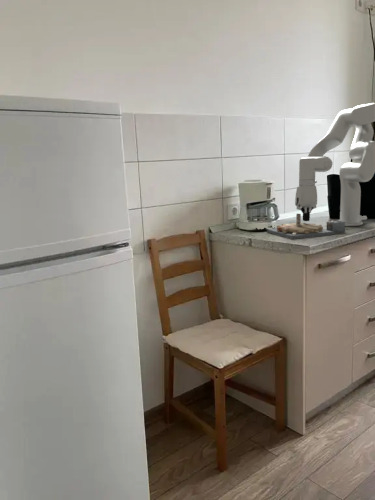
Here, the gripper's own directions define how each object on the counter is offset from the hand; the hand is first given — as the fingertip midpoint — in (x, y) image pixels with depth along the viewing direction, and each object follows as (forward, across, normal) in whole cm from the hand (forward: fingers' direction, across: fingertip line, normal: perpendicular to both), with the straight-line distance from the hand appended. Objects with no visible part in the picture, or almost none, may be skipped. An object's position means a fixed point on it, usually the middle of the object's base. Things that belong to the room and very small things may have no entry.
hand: (306, 220), depth 212 cm
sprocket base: (+5, +8, +6) cm, 11 cm away
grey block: (+5, -8, +12) cm, 15 cm away
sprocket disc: (+3, +8, +7) cm, 11 cm away
